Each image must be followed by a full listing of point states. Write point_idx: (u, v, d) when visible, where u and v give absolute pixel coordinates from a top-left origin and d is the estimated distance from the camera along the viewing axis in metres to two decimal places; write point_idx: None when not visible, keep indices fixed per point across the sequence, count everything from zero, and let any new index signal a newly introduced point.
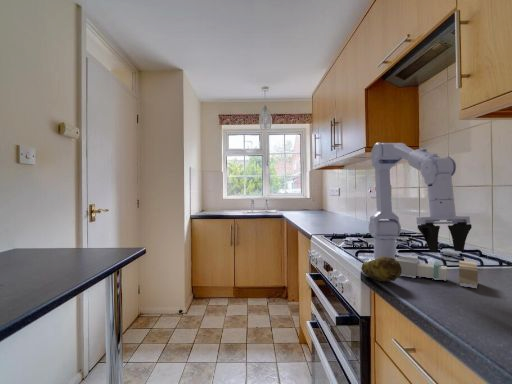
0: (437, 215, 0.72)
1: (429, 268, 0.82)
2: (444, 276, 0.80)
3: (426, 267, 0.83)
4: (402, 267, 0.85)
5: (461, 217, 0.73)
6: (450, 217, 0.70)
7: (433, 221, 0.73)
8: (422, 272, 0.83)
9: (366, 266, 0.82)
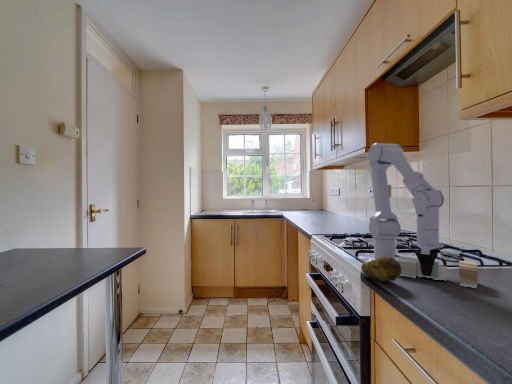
0: (431, 244, 0.81)
1: None
2: (444, 276, 0.80)
3: None
4: (402, 267, 0.85)
5: None
6: (441, 246, 0.81)
7: None
8: None
9: (366, 266, 0.82)
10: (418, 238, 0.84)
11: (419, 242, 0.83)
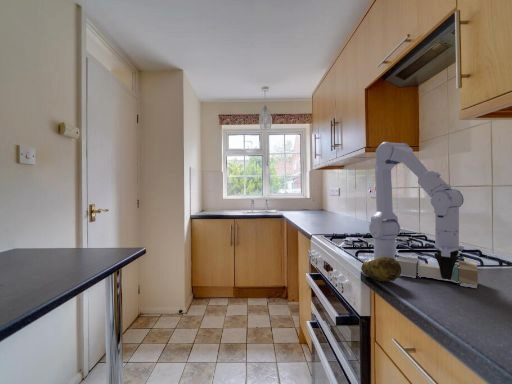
0: (451, 246, 0.78)
1: None
2: None
3: None
4: (402, 267, 0.85)
5: None
6: (461, 248, 0.78)
7: None
8: None
9: (366, 266, 0.82)
10: (437, 240, 0.81)
11: (438, 244, 0.80)
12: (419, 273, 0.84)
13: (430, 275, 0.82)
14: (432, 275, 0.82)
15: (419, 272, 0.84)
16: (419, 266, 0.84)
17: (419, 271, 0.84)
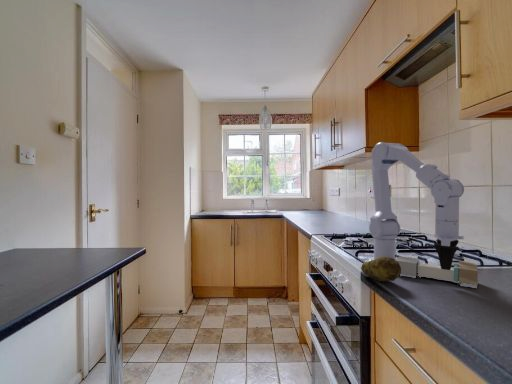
0: (450, 235, 0.78)
1: (448, 271, 0.79)
2: None
3: (445, 270, 0.80)
4: (402, 267, 0.85)
5: None
6: (461, 238, 0.78)
7: None
8: (441, 275, 0.80)
9: (366, 266, 0.82)
10: (437, 230, 0.81)
11: (438, 234, 0.80)
12: (419, 273, 0.84)
13: (430, 275, 0.82)
14: (432, 275, 0.82)
15: (419, 272, 0.84)
16: (419, 266, 0.84)
17: (419, 271, 0.84)
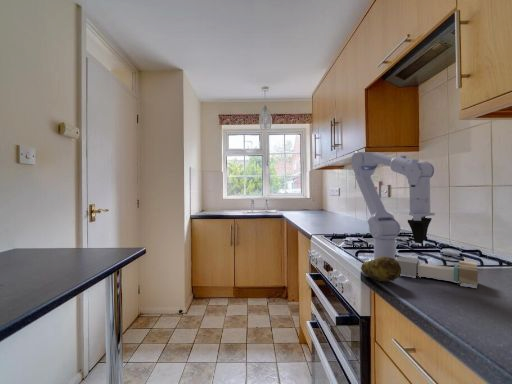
0: (422, 212, 0.86)
1: (448, 271, 0.79)
2: None
3: (445, 270, 0.80)
4: (402, 267, 0.85)
5: None
6: (432, 214, 0.85)
7: None
8: (441, 275, 0.80)
9: (366, 266, 0.82)
10: (411, 208, 0.88)
11: (412, 211, 0.88)
12: (419, 273, 0.84)
13: (430, 275, 0.82)
14: (432, 275, 0.82)
15: (419, 272, 0.84)
16: (419, 266, 0.84)
17: (419, 271, 0.84)
